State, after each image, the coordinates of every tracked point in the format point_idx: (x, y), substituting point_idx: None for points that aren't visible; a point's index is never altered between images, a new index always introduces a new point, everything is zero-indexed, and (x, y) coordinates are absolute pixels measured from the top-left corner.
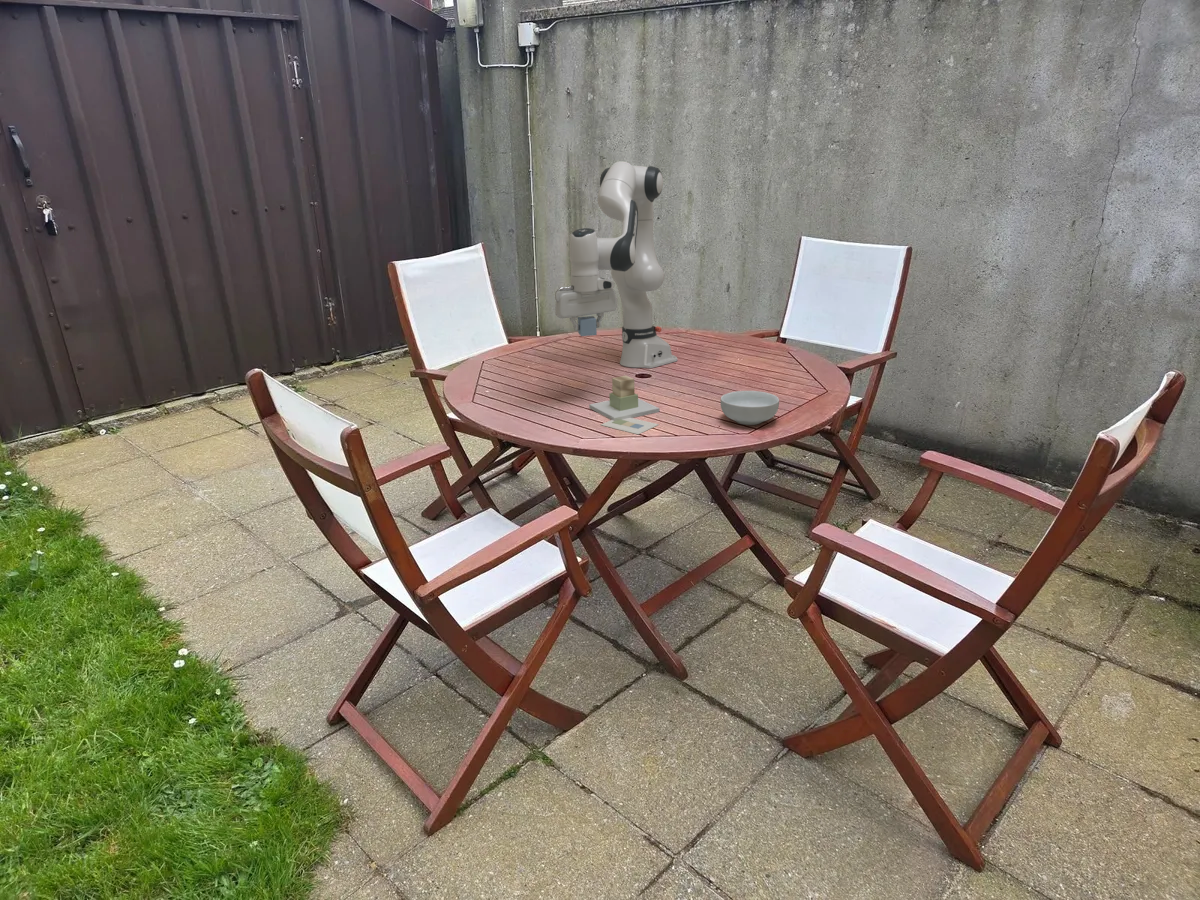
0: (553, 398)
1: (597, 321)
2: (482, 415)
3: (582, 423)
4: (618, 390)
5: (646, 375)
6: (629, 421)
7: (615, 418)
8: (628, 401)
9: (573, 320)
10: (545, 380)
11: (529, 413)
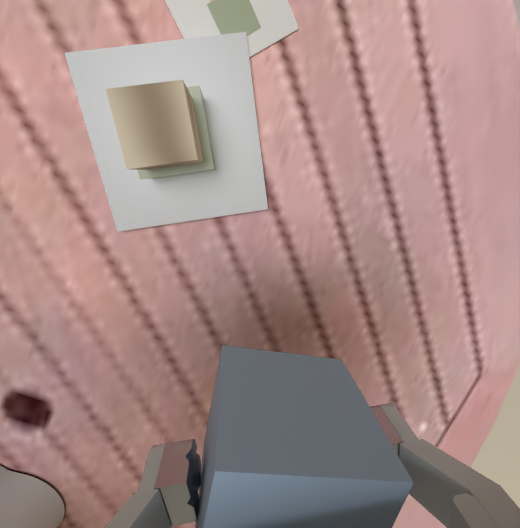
0: (318, 326)
1: (164, 509)
2: (511, 275)
3: (337, 80)
4: (192, 110)
5: (16, 411)
6: (203, 4)
7: (244, 32)
8: None
9: (490, 487)
10: None
11: (418, 239)
